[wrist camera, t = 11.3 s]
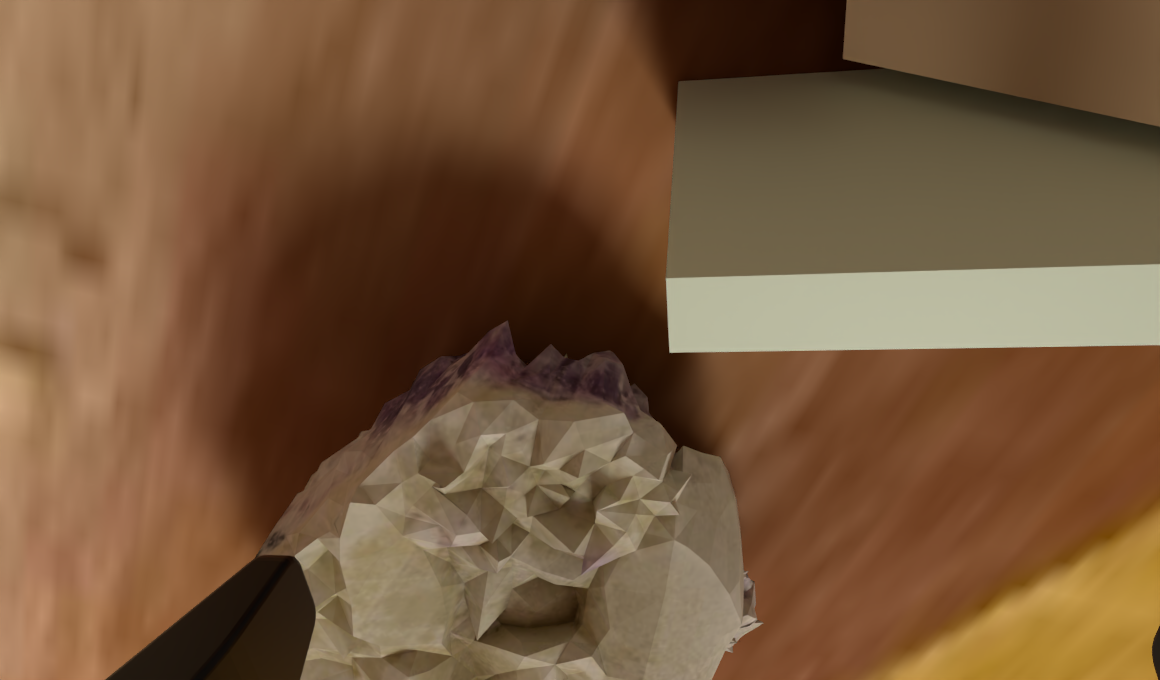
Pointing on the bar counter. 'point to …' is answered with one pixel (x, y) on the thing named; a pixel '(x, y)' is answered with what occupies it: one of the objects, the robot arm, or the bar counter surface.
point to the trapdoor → (1021, 48)
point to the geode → (519, 532)
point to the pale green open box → (906, 218)
